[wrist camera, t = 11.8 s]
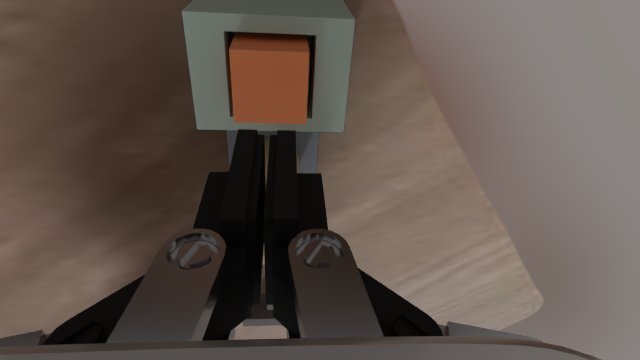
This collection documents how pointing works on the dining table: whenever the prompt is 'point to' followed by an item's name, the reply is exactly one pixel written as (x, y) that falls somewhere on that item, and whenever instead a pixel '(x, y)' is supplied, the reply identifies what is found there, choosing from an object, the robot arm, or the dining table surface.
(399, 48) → the dining table surface
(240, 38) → the button
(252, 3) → the green button housing
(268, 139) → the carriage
